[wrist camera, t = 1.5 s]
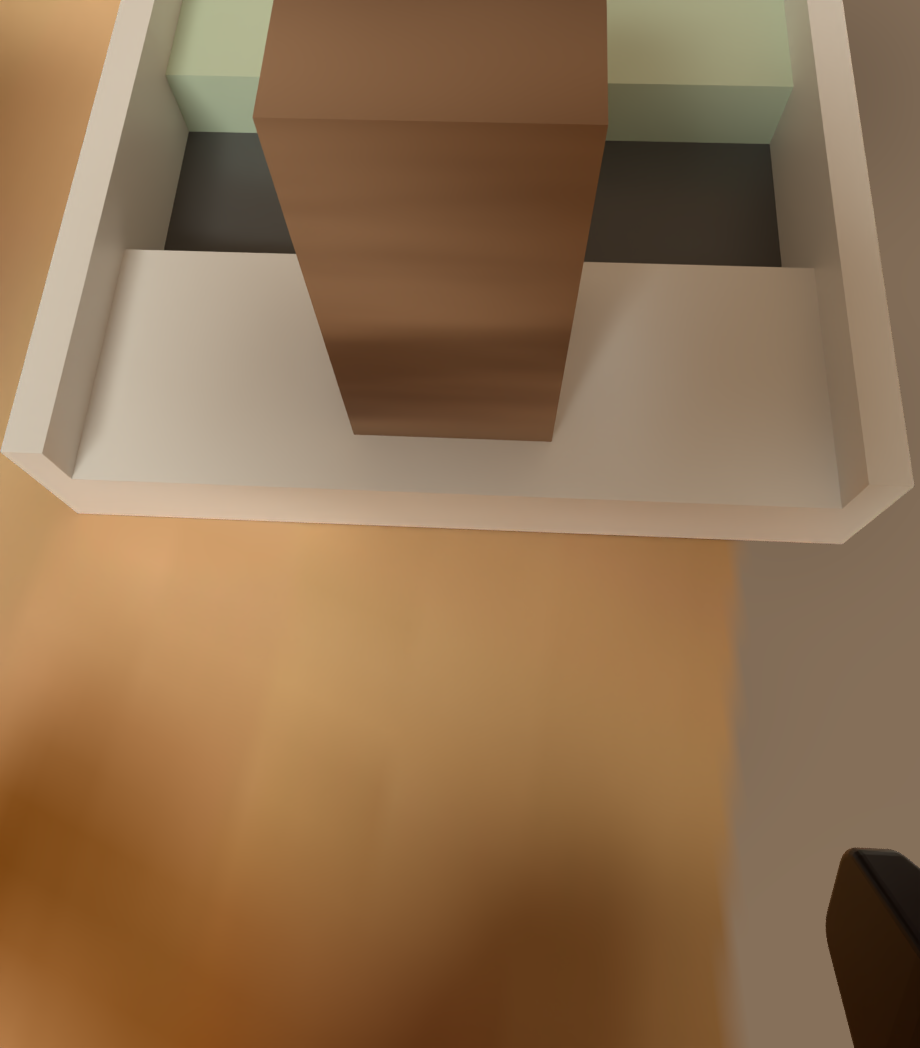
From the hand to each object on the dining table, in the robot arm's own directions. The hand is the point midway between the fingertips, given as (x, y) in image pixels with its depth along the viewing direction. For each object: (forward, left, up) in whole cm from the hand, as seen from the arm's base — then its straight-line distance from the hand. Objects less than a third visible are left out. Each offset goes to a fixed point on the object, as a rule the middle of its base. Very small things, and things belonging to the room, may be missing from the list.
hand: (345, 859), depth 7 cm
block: (+11, +4, -11) cm, 16 cm away
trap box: (+18, +6, -13) cm, 23 cm away
